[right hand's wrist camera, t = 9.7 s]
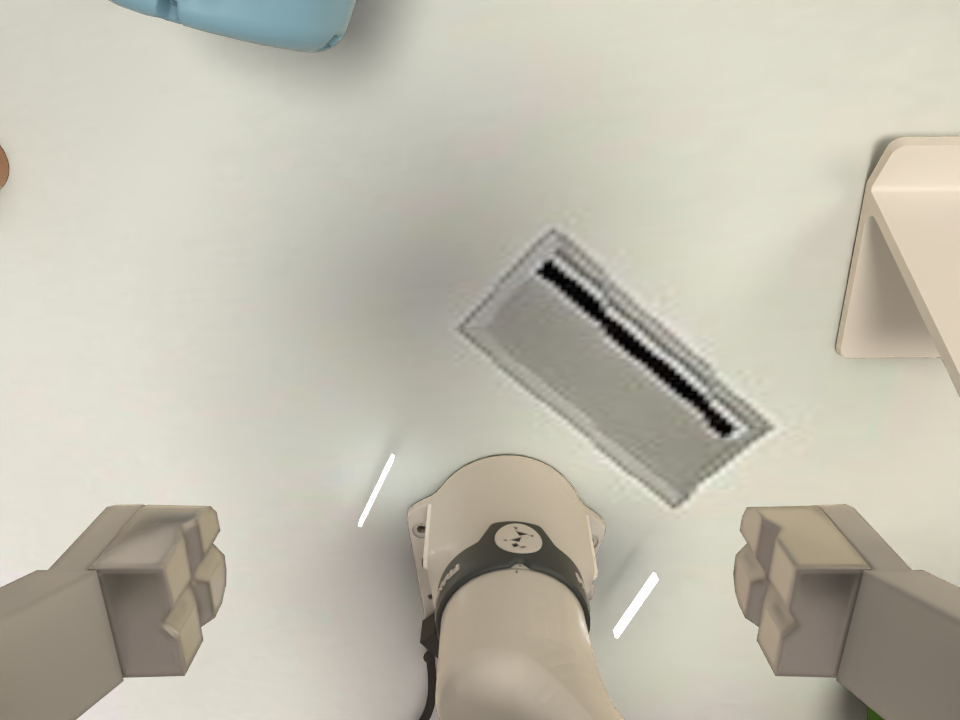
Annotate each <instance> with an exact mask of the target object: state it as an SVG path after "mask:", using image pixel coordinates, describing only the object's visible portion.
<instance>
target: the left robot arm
mask: <svg viewBox="0 0 960 720" xmlns="http://www.w3.org/2000/svg"><path fill="white" fill-rule="evenodd" d="M109 1H111V2H113V3H115V4H117V5H119V6H122V7H124V8H127V9H130V10H133V11H136V12H139V13H142V14H145V15H148V16H153V17H159V18H162V19H165V20H168V21H172V22H176V23H179V24H183V25H184V26H187V27H191V28H194V29H198V30H201V31H205V32H209V33H213V34H217V35H221V36H225V37H229V38H233V39H237V40H242V41H246V42H251V43H255V44H260V45H265V46H270V47H275V48H281V49H287V50H293V51H301V52H320V51H324V50H327V49H329V48H331V47H333V46H335V45H336V44H337V43H338V42H339V41H340V40H341V39H342V38H343V36H344V34H345V33H346V30H347V28H348V25H349V22H350V19H351V16H352V13H353V10H354V7H355V4H356V1H357V0H109Z"/></svg>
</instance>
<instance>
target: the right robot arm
mask: <svg viewBox="0 0 960 720" xmlns="http://www.w3.org/2000/svg"><path fill="white" fill-rule="evenodd" d="M394 456H395V455H393V454H391V456H390V458H389V460H388V462H387V464H386V466H385V468H384V470H383V473H382V475H381V477H380V479H379V481H378V483H377V485H376V487H375V489H374V491H373V493H372V495H371V497H370V499H369V502H368V504H367V506H366V508H365V510H364V512H363V514H362V516H361V518H360V521H359V524H358V526H360V527H361V526H362V524H363V522H364V520H365V518H366V516H367V514H368V512H369V510H370V508H371V506H372V504H373V502H374V500H375V498H376V495H377V493H378V491H379V489H380V487H381V485H382V483H383V481H384V479H385V477H386V475H387V473H388V471H389V469H390V467H391V465H392V463H393V460H394ZM407 521H408V527H409V533H410V538H411V543H412V549H413V554H414V560H415V565H416V571H417V576H418V582H419V587H420V593H421V598H422V604H423V609H424V614H425V620H423V622H422V631H421V640H420V643H421V644H422V645H423V646H425V647H426V648H427V649H428V651H427V652H426V653H425V654H424V657H423V658H424V661H426V662H427V670H428V697H427V703H426V707H425V710H424V712H423V715H422V717H421V719H420V720H429V719H430V717H431V715H432V712H433V709H434V705H435V702H436V709H437V714H438V717H439V720H624V718H623V717H622V716H621V715H620V713H619V712H618V710H617V709H616V708H615V706H614V705H613V703H612V701H611V700H610V698H609V696H608V695H607V693H606V691H605V688H604V686H603V683H602V680H601V677H600V674H599V671H598V668H597V665H596V661H595V658H594V654H593V651H592V647H591V643H590V639H589V635H588V634H589V631H590V614H589V612H590V605H589V600H591V599H592V597H593V593H594V586H593V585H592V583H593V580H595V579H597V575H598V570H597V563H596V554H597V552H598V550H599V547H600V545H601V542H602V540H603V537H604V535H605V524H604V521H603V519H602V518H601V517H600V516H599V515H597V514H596V513H595V512H594V511H592V510H591V509H589V508H588V507H586V506H585V505H584V504H583V503H582V502H581V500H580V499H579V497H578V496H577V494H576V492H575V490H574V489H573V487H572V486H571V484H570V483H569V482H568V481H567V480H566V479H565V478H564V477H563V476H562V475H561V474H560V473H559V472H558V471H556V470H555V469H553V468H552V467H550V466H548V465H547V464H544V463H542V462H540V461H537V460H534V459H531V458H527V457H522V456H514V455H501V456H493V457H488V458H484V459H480V460H477V461H475V462H472V463H470V464H468V465H466V466H464V467H463V468H461V469H459V470H458V471H457V472H455V473H454V474H453V475H452V476H451V477H450V478H449V479H448V480H447V481H446V482H445V483H444V484H443V485H442V486H441V487H440V489H439V490H438V491H437V492H436V493H434V494H433V495H431V496H429V497H427V498H425V499H423V500H421V501H419V502H417V503H415V504H414V505H412V506H411V507H410V508H409V510H408V513H407ZM419 526H424V527H425V528H424V529H420V528H419ZM219 532H220V527H219V522H218V517H217V512H216V511H215V510H214V509H213V508H212V507H211V506H178V505H113V506H109V507H107V508H106V509H105V510H104V511H103V512H102V513H101V514H100V515H99V516H98V517H97V518H96V519H95V520H94V521H93V522H92V523H91V525H90V526H89V527H88V528H87V529H86V530H85V531H84V532H83V533H82V534H81V535H80V536H79V537H78V538H77V540H76V541H75V542H74V543H73V544H72V545H71V546H70V547H69V548H68V549H67V550H66V551H65V552H64V553H63V555H62V556H61V557H60V558H59V559H58V560H57V561H56V562H55V563H54V564H53V565H52V566H51V567H50V568H49V569H48V570H36V571H34V572H32V573H30V574H28V575H26V576H24V577H22V578H20V579H18V580H15V581H13V582H11V583H9V584H7V585H5V586H3V587H1V588H0V720H76V719H77V718H78V717H80V716H81V715H82V714H83V713H85V712H86V711H87V710H88V709H89V708H91V707H92V706H93V705H94V704H96V703H97V702H98V701H99V700H100V699H102V698H103V697H104V696H105V695H107V694H108V693H109V692H110V691H112V690H113V689H114V688H115V687H116V686H118V685H119V684H120V683H121V682H123V678H125V677H160V676H185V674H186V672H187V670H188V668H189V666H190V664H191V663H192V661H193V659H194V657H195V655H196V653H197V651H198V649H199V647H200V645H201V643H202V641H203V636H202V630H201V627H202V626H203V625H205V624H206V623H208V622H209V621H211V620H212V619H213V618H215V616H216V614H217V612H218V610H219V608H220V606H221V604H222V600H223V596H224V591H225V587H226V563H225V556H224V554H223V553H222V552H221V551H220V550H219V549H218V548H217V547H216V546H215V545H214V544H213V542H214V540H215V538H216V537H217V535H218V533H219ZM740 532H741V533H742V535H743V537H744V538H745V540H746V542H747V544H746V545H745V546H744V547H743V548H742V549H741V550H740V551H739V552H738V553H737V554H736V557H735V565H734V573H733V575H734V586H735V593H736V597H737V600H738V603H739V606H740V608H741V610H742V612H743V614H744V616H745V618H746V619H748V620H749V621H751V622H752V623H754V624H755V625H757V626H758V627H759V630H758V636H757V642H758V643H759V645H760V647H761V649H762V651H763V653H764V655H765V657H766V659H767V661H768V662H769V664H770V666H771V668H772V670H773V672H774V674H775V676H799V677H835V678H837V681H838V682H839V683H840V684H841V685H843V686H844V687H845V688H846V689H848V690H849V691H850V692H851V693H852V694H854V695H855V696H856V697H857V698H859V699H860V700H861V701H862V702H863V703H865V704H866V705H867V706H868V707H870V708H871V709H872V710H873V711H874V712H876V713H877V714H878V715H879V716H881V717H882V718H883V719H884V720H960V588H959V587H957V586H955V585H953V584H951V583H949V582H947V581H944V580H942V579H940V578H938V577H936V576H934V575H932V574H930V573H928V572H926V571H924V570H912V569H911V568H910V567H909V566H908V565H907V564H906V563H905V562H904V561H903V560H902V559H901V558H900V557H899V556H898V554H897V553H896V552H895V551H894V550H893V549H892V548H891V547H890V546H889V545H888V544H887V543H886V542H885V541H884V539H883V538H882V537H881V536H880V535H879V534H878V533H877V532H876V531H875V530H874V529H873V528H872V527H871V526H870V524H869V523H868V522H867V521H866V520H865V519H864V518H863V517H862V516H861V515H860V514H859V513H858V512H857V511H856V509H855V508H853V507H851V506H848V505H846V504H838V505H813V506H780V507H747V508H746V510H745V512H744V514H743V516H742V521H741V526H740ZM657 581H658V578H657V575H656V573H652V575H651V576H650V577H649V579H648V580H647V582H646V583H645V585H644V586H643V588H642V589H641V590H640V592H639V593H638V595H637V596H636V598H635V599H634V601H633V602H632V604H631V605H630V606H629V608H628V609H627V611H626V612H625V614H624V615H623V617H622V618H621V619H620V621H619V622H618V624H617V625H616V627H615V628H614V630H613V631H614V635H615V638H618V637H619V636H620V635H621V633H622V632H623V630H624V629H625V627H626V626H627V624H628V623H629V622H630V620H631V619H632V617H633V616H634V614H635V613H636V612H637V610H638V609H639V607H640V606H641V604H642V603H643V602H644V600H645V599H646V597H647V596H648V594H649V593H650V591H651V590H652V589H653V587H654V586H655V584H656V583H657ZM435 656H436V657H437V658H438V667H437V680H436V667H435V658H434V657H435Z"/></svg>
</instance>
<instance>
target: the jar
mask: <svg viewBox="0 0 960 720" xmlns="http://www.w3.org/2000/svg"><path fill="white" fill-rule="evenodd" d="M8 174H9V165H8V160H7V157H6V155H5V153H4V151H3V149H2V148H1V146H0V189H1V188H2V187H3V186H4V184H5V183H6V181H7V178H8Z"/></svg>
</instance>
